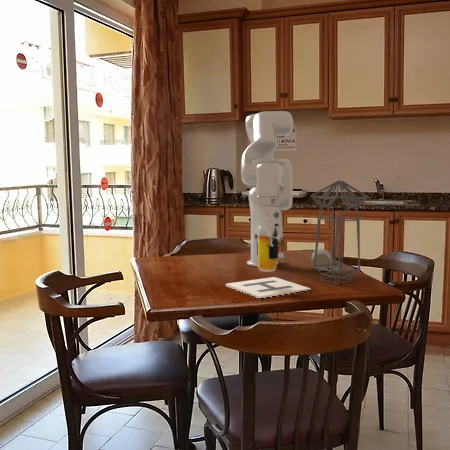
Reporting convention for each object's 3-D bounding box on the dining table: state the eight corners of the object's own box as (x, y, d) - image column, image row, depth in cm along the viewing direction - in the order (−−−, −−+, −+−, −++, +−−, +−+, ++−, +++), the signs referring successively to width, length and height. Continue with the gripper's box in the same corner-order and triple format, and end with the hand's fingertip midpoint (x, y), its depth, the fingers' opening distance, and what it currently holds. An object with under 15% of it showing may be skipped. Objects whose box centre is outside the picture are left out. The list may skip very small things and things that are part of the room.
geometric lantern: (305, 279, 186) (307, 180, 183) (338, 275, 194) (341, 180, 191) (335, 287, 173) (338, 180, 170) (370, 283, 181) (373, 181, 178)
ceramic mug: (311, 271, 199) (311, 251, 198) (311, 267, 207) (311, 248, 206) (339, 273, 197) (340, 253, 196) (338, 268, 205) (339, 249, 204)
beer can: (275, 272, 169) (275, 226, 167) (256, 271, 170) (256, 225, 168) (277, 268, 175) (277, 223, 173) (259, 268, 176) (259, 223, 174)
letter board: (274, 279, 187) (274, 276, 186) (310, 290, 169) (310, 288, 169) (225, 286, 177) (225, 283, 176) (259, 299, 159) (259, 296, 159)
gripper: (293, 203, 164) (292, 259, 166) (262, 199, 179) (262, 252, 181) (273, 204, 160) (273, 262, 162) (243, 200, 175) (243, 254, 177)
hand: (267, 256), depth 172 cm, fingers closed on beer can, 6 cm apart
